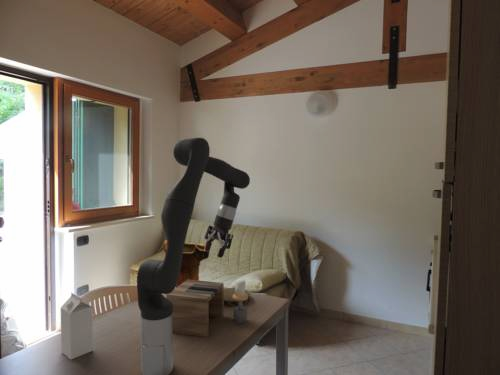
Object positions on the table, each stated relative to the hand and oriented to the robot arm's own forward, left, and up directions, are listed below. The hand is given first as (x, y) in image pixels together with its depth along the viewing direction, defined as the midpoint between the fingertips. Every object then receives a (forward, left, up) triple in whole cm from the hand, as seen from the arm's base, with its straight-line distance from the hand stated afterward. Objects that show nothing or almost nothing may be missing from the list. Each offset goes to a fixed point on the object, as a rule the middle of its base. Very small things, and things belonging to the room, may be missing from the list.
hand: (213, 253), depth 141 cm
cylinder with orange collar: (-7, -11, -25) cm, 29 cm away
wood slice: (+16, -7, -26) cm, 31 cm away
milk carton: (-30, +42, -25) cm, 57 cm away
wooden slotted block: (-9, +6, -25) cm, 27 cm away
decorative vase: (+20, +15, -25) cm, 35 cm away
